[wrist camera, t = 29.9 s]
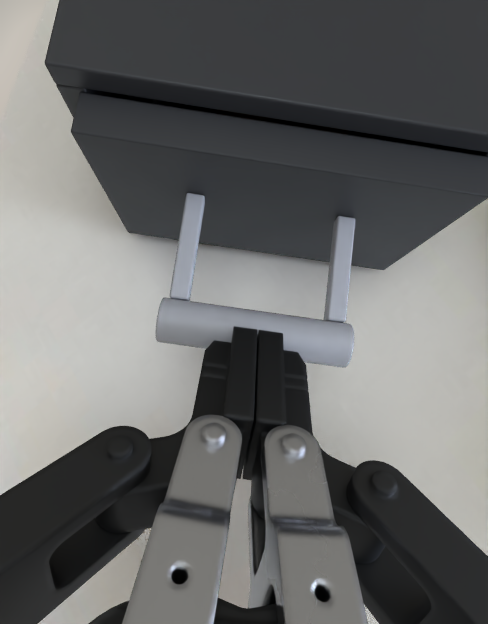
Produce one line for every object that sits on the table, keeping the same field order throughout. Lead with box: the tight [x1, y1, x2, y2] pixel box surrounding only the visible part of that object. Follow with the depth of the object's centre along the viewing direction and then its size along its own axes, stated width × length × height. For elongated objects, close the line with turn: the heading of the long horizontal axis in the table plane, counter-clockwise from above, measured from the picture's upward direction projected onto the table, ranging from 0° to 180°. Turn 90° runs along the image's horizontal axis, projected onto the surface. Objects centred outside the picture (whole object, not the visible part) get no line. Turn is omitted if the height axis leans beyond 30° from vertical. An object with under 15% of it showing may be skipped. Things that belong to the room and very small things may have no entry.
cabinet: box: [45, 0, 488, 157], centre depth 17 cm, size 15×13×10 cm
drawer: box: [71, 92, 488, 367], centre depth 16 cm, size 18×11×8 cm, turn 173°
